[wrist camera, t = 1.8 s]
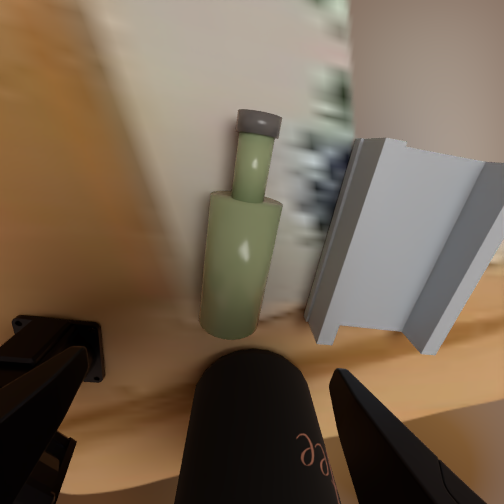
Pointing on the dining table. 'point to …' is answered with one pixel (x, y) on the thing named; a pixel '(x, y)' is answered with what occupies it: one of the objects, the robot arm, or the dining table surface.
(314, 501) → the coffee jar
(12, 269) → the dining table surface
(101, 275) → the dining table surface
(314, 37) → the dining table surface
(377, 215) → the u rest
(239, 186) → the oil bottle
